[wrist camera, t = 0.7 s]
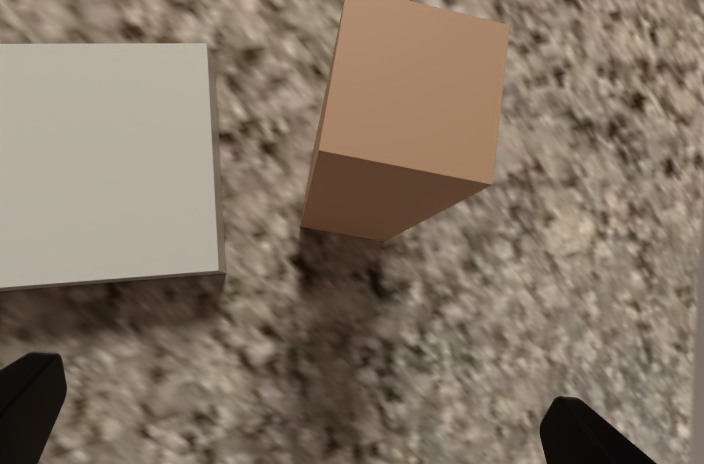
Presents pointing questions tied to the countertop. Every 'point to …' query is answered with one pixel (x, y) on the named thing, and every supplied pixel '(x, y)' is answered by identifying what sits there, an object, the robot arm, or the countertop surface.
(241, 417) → the countertop surface
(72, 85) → the plinth
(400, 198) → the block
